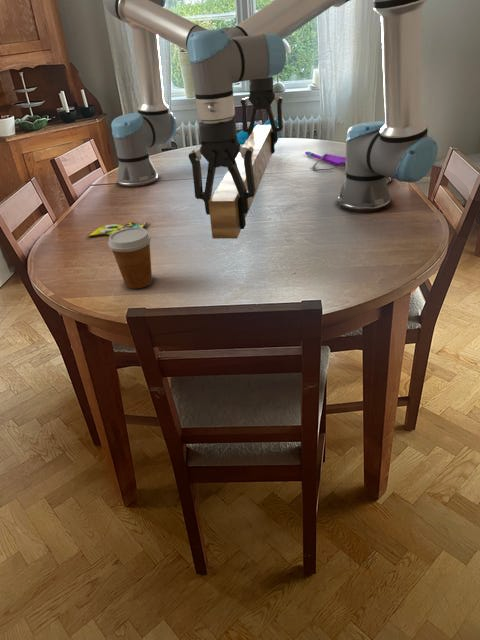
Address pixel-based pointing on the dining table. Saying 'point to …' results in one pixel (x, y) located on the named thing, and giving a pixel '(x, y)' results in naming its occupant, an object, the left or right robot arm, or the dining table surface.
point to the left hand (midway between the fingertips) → (263, 152)
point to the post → (227, 195)
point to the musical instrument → (328, 159)
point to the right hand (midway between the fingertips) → (229, 226)
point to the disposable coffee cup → (132, 255)
